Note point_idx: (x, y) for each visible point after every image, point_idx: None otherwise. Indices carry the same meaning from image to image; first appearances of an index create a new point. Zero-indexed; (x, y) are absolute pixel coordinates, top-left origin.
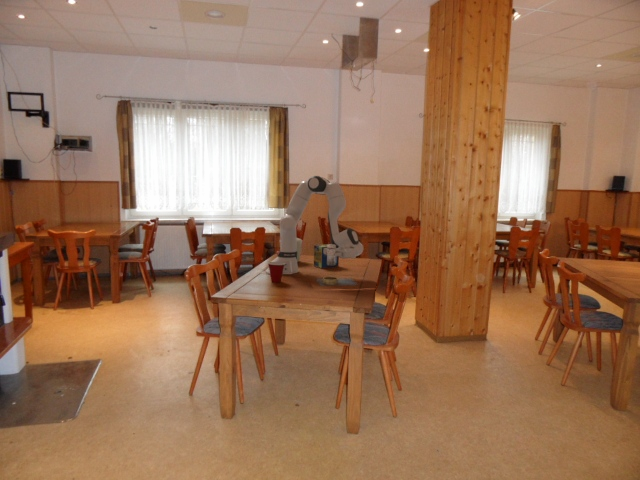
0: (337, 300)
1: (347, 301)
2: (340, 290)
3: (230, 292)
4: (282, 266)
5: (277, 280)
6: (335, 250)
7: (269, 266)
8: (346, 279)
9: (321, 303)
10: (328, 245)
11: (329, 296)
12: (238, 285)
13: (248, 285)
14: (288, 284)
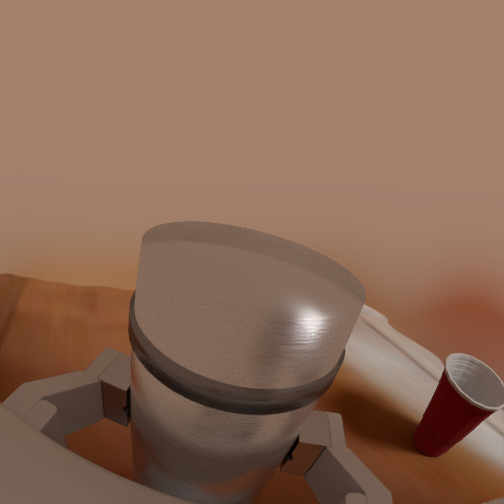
0: (68, 313)
1: (37, 307)
2: None
3: (372, 322)
4: (447, 388)
5: (417, 427)
6: (131, 361)
7: (464, 369)
8: None
9: (113, 292)
10: (276, 241)
11: (101, 345)
12: (427, 363)
13: (417, 372)
14: (366, 441)
